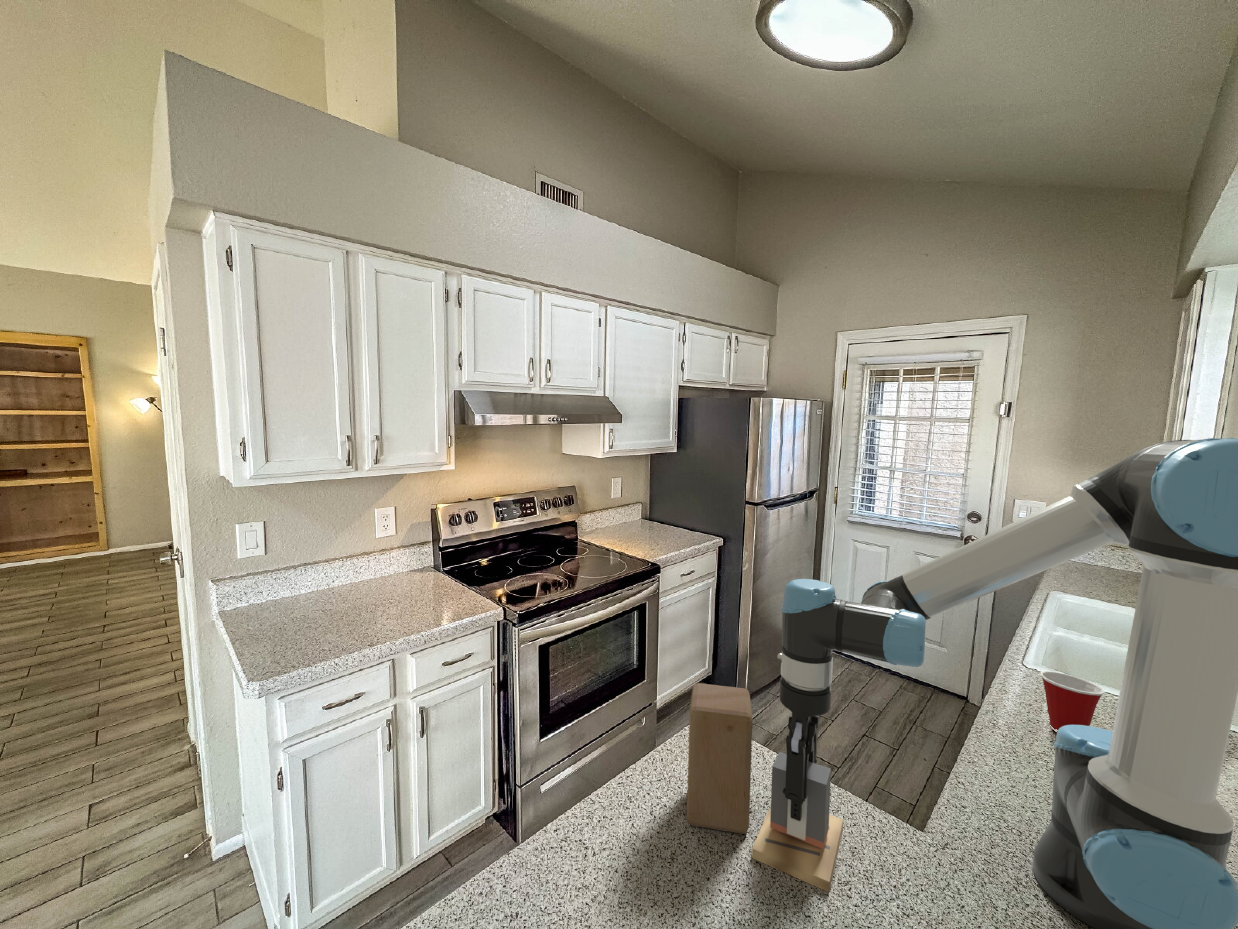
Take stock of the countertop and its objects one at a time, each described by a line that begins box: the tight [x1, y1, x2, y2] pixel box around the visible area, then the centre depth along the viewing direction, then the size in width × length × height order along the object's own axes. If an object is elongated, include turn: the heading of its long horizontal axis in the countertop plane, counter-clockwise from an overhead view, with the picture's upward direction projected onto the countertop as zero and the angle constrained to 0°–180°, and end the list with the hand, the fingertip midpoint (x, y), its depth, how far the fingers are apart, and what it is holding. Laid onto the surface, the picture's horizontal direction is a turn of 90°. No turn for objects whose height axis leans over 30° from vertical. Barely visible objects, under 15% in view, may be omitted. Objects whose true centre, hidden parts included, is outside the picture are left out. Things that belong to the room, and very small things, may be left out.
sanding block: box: [770, 751, 832, 849], centre depth 80 cm, size 8×4×10 cm, turn 59°
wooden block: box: [686, 682, 753, 835], centre depth 87 cm, size 10×10×20 cm
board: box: [751, 805, 844, 893], centre depth 81 cm, size 11×14×2 cm
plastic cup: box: [1040, 671, 1106, 730], centre depth 113 cm, size 11×11×12 cm
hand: (799, 824), depth 80 cm, fingers closed on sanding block, 4 cm apart
